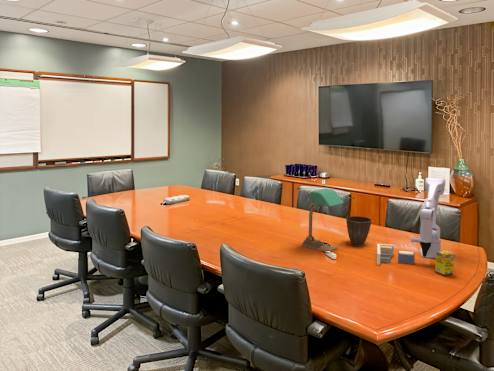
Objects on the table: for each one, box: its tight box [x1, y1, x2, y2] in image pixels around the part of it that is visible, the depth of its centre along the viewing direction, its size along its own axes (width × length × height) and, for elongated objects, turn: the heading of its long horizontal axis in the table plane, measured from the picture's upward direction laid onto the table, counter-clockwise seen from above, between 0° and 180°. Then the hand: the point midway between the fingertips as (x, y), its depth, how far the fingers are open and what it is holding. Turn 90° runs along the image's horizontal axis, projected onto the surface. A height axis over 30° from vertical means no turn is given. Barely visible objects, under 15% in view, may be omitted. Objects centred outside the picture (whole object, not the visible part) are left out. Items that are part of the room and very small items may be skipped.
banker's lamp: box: [301, 188, 344, 253], centre depth 252 cm, size 16×21×35 cm
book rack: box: [376, 243, 395, 266], centre depth 233 cm, size 9×19×6 cm, turn 164°
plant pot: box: [345, 215, 373, 247], centre depth 261 cm, size 15×15×16 cm
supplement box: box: [434, 249, 455, 277], centre depth 213 cm, size 6×6×11 cm
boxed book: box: [397, 250, 416, 265], centre depth 230 cm, size 8×4×6 cm, turn 74°
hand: (424, 256), depth 227 cm, fingers closed
